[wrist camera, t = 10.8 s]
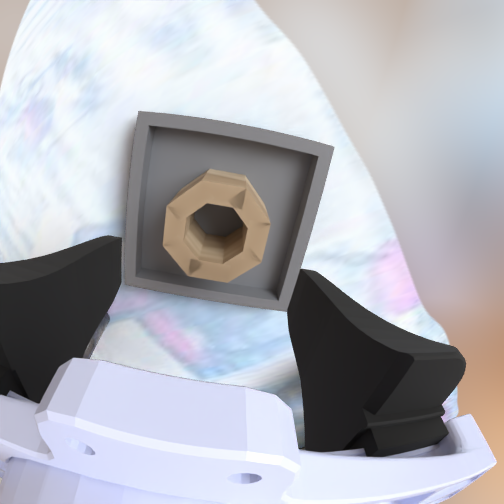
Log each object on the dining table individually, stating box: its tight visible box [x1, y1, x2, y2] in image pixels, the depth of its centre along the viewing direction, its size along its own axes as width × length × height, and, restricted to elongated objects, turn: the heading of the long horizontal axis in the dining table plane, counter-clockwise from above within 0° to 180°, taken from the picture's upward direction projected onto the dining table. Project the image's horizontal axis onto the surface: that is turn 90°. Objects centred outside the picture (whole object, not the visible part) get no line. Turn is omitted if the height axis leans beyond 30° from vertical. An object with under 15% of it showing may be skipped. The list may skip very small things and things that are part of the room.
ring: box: [163, 169, 271, 283], centre depth 17 cm, size 5×5×4 cm
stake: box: [83, 313, 110, 359], centre depth 20 cm, size 2×2×6 cm
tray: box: [125, 111, 334, 312], centre depth 18 cm, size 12×12×2 cm
